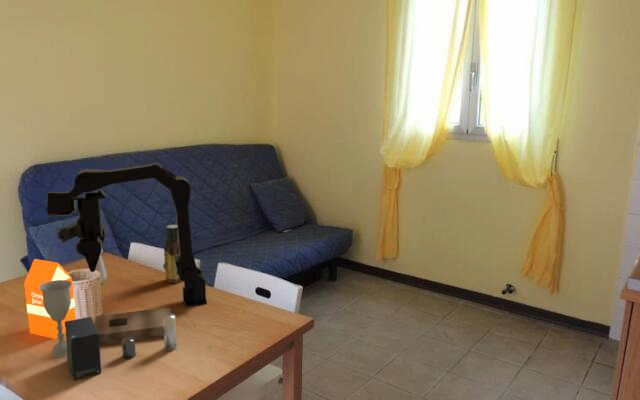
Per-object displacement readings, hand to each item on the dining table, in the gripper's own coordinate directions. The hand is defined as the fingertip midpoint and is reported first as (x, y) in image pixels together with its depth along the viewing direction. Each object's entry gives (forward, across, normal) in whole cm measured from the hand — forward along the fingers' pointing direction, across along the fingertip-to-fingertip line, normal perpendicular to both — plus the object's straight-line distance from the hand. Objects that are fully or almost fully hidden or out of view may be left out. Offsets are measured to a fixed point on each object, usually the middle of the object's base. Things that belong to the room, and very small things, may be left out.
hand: (93, 266), depth 146 cm
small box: (+15, +31, -1) cm, 34 cm away
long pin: (+15, +28, +19) cm, 37 cm away
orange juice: (+15, +8, -11) cm, 20 cm away
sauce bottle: (+15, -20, +23) cm, 34 cm away
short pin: (+15, +29, +9) cm, 34 cm away
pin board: (+15, +15, +10) cm, 23 cm away
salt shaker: (+15, -25, -2) cm, 29 cm away
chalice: (+15, +22, -7) cm, 27 cm away
